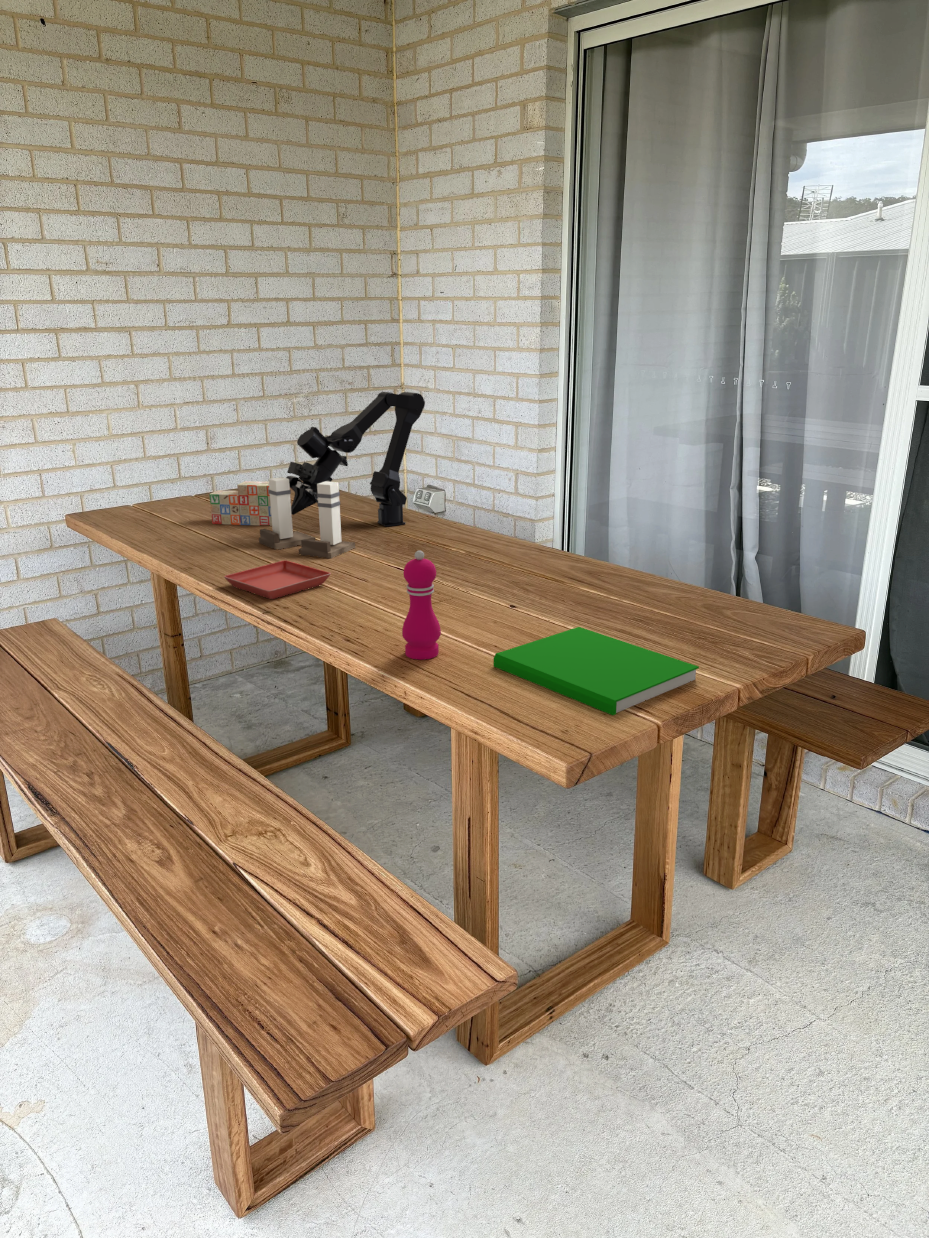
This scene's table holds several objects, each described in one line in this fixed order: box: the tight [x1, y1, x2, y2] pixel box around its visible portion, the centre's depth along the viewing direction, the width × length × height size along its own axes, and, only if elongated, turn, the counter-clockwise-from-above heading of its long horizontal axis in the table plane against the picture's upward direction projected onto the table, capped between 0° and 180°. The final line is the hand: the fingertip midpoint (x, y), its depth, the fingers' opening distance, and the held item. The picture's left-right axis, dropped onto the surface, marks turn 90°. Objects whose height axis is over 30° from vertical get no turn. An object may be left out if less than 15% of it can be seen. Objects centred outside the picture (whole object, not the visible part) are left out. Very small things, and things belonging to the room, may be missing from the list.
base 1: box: [258, 528, 316, 550], centre depth 257 cm, size 12×10×4 cm
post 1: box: [268, 476, 294, 539], centre depth 254 cm, size 4×4×16 cm
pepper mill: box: [401, 550, 442, 660], centre depth 172 cm, size 7×7×20 cm
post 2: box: [316, 481, 343, 545], centre depth 247 cm, size 4×4×16 cm
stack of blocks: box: [208, 480, 272, 527], centre depth 280 cm, size 21×6×12 cm, turn 80°
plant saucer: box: [223, 559, 332, 600], centre depth 218 cm, size 18×18×3 cm
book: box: [492, 626, 700, 716], centre depth 165 cm, size 22×28×3 cm
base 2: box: [298, 539, 356, 559], centre depth 248 cm, size 12×10×4 cm
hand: (291, 513), depth 256 cm, fingers closed
